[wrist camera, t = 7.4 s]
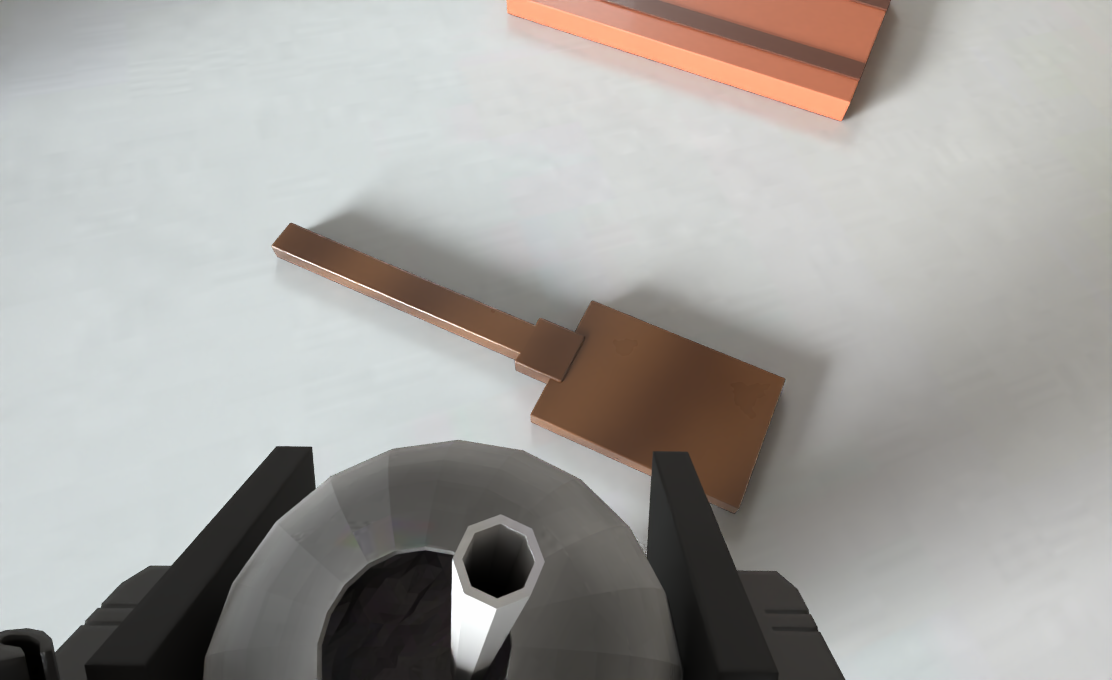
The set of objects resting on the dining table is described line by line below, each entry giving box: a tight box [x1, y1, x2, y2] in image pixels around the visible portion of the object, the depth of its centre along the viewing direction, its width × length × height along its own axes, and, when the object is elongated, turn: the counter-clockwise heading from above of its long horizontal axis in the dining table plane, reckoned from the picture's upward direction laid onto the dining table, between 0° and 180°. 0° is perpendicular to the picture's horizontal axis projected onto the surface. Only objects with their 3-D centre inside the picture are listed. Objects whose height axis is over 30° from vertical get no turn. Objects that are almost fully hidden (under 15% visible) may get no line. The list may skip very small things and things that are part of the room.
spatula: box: [272, 223, 785, 514], centre depth 28 cm, size 21×6×1 cm, turn 64°
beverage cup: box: [203, 440, 685, 680], centre depth 13 cm, size 7×7×20 cm
